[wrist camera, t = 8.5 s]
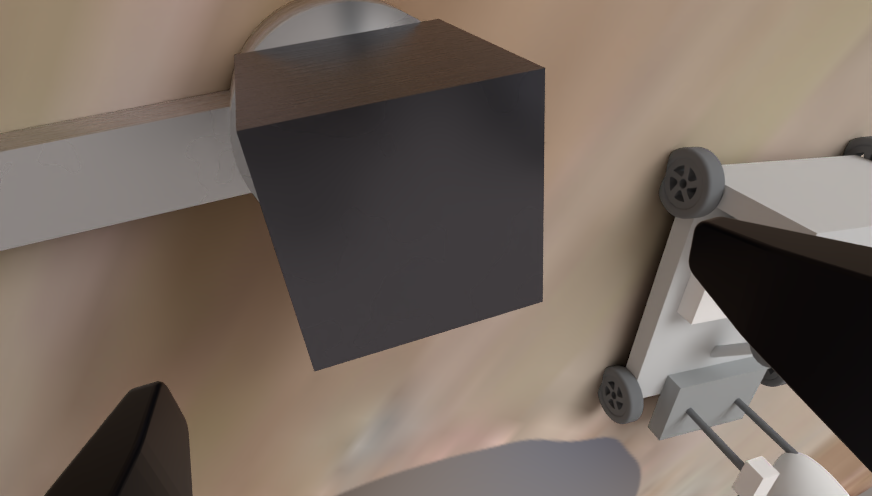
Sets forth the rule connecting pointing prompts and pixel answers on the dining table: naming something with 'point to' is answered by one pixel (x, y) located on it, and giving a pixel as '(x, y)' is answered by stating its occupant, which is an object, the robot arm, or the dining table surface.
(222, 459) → the dining table surface
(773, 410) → the dining table surface
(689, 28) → the dining table surface
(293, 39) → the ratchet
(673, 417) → the toy car
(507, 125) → the dark grey block
